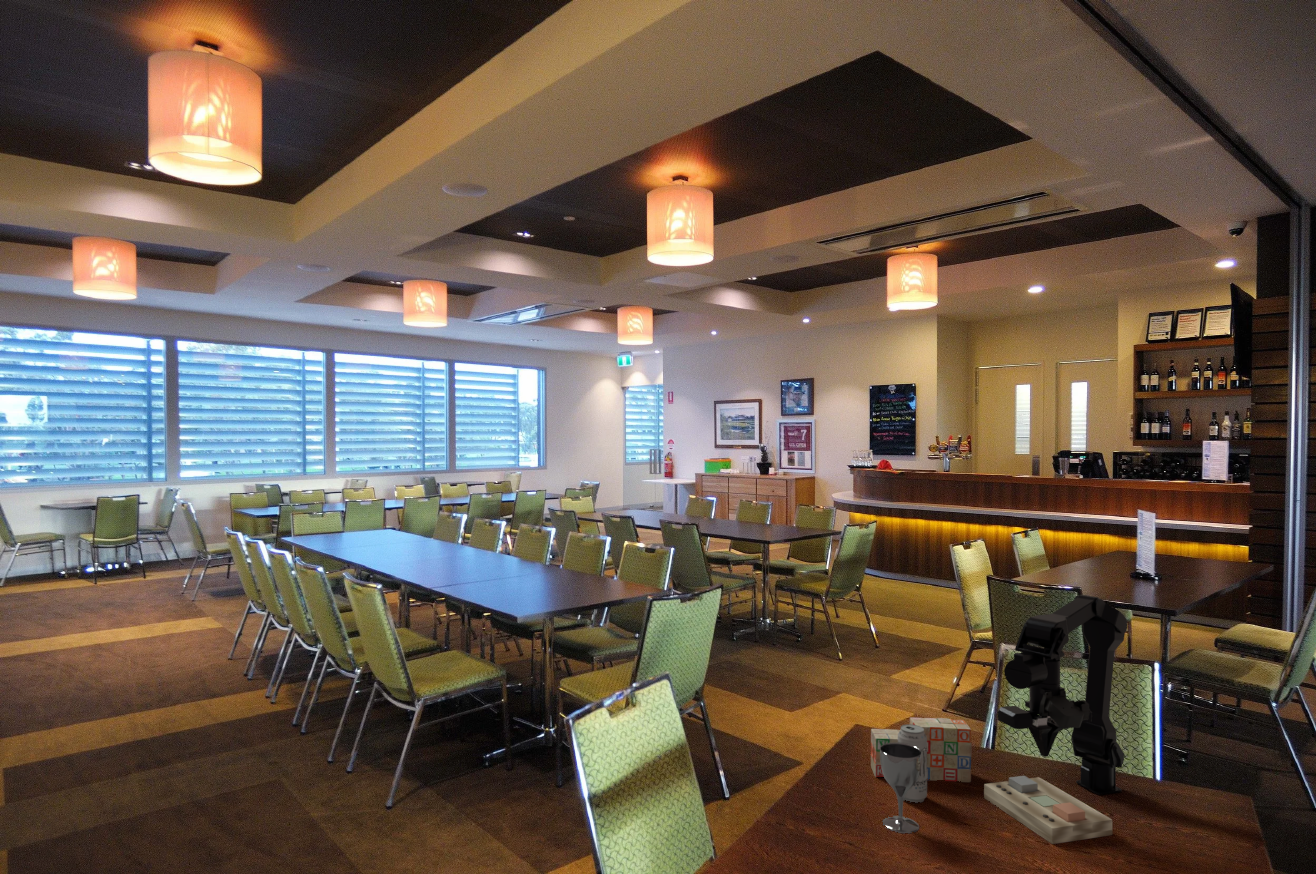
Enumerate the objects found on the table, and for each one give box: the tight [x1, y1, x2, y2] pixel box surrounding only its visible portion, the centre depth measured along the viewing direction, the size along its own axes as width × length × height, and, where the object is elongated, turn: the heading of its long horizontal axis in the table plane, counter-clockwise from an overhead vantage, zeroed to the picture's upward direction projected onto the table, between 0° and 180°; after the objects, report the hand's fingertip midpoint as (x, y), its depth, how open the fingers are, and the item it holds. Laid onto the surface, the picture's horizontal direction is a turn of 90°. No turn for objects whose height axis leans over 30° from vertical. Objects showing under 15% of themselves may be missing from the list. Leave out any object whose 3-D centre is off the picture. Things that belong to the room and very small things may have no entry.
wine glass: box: [880, 743, 921, 834], centre depth 158 cm, size 8×8×15 cm
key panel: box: [983, 776, 1113, 845], centre depth 162 cm, size 14×20×3 cm
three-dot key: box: [1008, 775, 1038, 793], centre depth 168 cm, size 4×4×2 cm
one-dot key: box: [1030, 796, 1060, 807], centre depth 162 cm, size 4×4×2 cm
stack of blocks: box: [870, 717, 973, 783], centre depth 182 cm, size 21×6×12 cm, turn 84°
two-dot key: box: [1053, 802, 1085, 822], centre depth 156 cm, size 4×4×2 cm
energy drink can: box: [898, 723, 928, 804], centre depth 170 cm, size 6×6×15 cm
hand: (1044, 756), depth 162 cm, fingers closed
